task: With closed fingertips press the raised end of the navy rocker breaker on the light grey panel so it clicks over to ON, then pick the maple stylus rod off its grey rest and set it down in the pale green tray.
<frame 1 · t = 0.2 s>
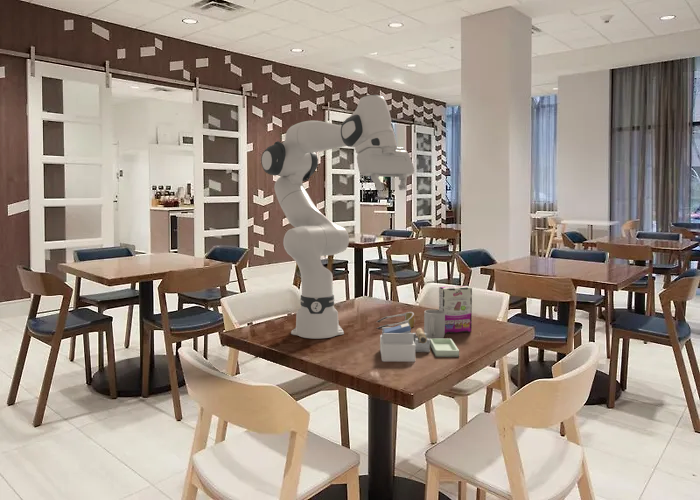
hand: (392, 189, 167), 51 cm above the table, tool tilted 20°, fingers open, 8 cm apart
tray: (443, 350, 181), on the table
rocker: (397, 329, 174), point 8 cm above the table, hinge at 15.0°
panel: (397, 355, 175), on the table
sunglasses: (395, 326, 215), on the table
cup: (433, 338, 197), on the table
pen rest: (421, 348, 183), on the table
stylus: (421, 335, 183), point 4 cm above the table, touching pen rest
candy bar box: (454, 331, 206), on the table
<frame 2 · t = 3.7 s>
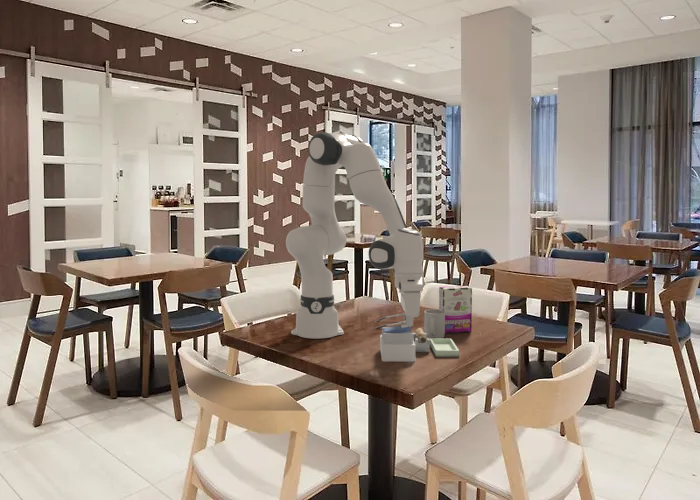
hand: (409, 325, 174), 10 cm above the table, tool pointing down, fingers closed, pressing on rocker
rocker: (397, 329, 174), point 8 cm above the table, hinge at 11.2°, touching gripper
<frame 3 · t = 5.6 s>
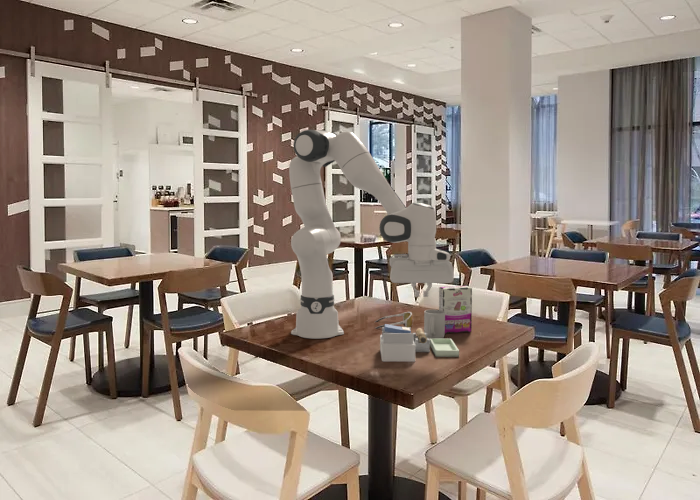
hand: (421, 296, 181), 17 cm above the table, tool pointing down, fingers closed
rocker: (397, 329, 174), point 8 cm above the table, hinge at -10.1°
everything else where it was.
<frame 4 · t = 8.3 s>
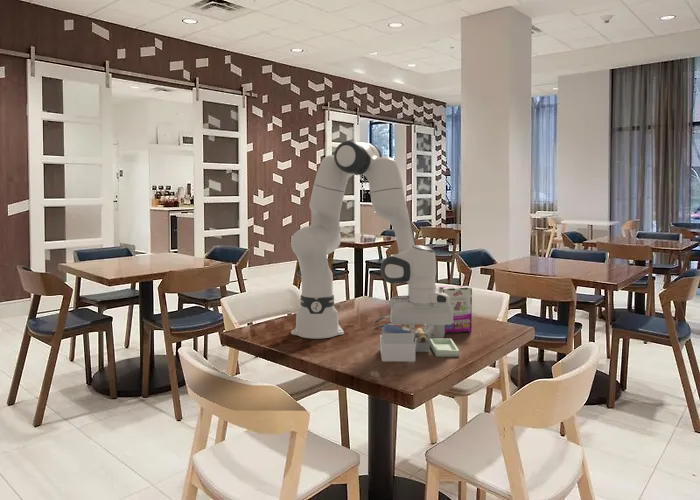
hand: (421, 337, 183), 3 cm above the table, tool pointing down, fingers closed on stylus, 2 cm apart
rocker: (397, 329, 174), point 8 cm above the table, hinge at -11.1°
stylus: (421, 335, 183), point 4 cm above the table, touching gripper, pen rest
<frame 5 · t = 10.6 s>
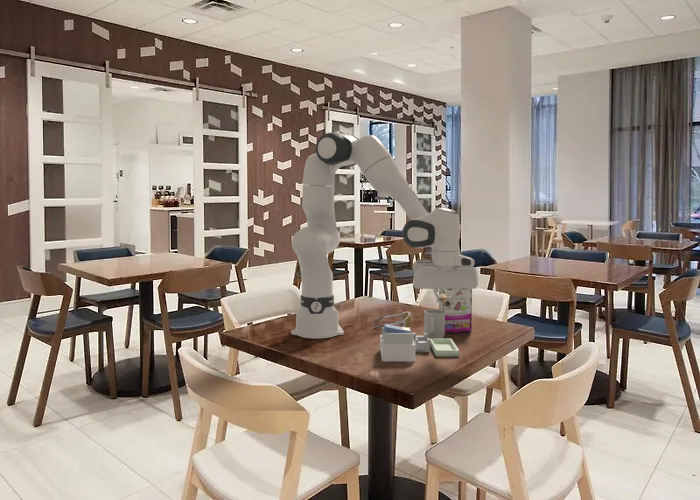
hand: (444, 302, 179), 16 cm above the table, tool pointing down, fingers closed on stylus, 2 cm apart
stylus: (444, 300, 179), point 16 cm above the table, touching gripper
when the fingers open (3 cm above the table, at t = 13.0 s): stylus drops 2 cm, resting on tray.
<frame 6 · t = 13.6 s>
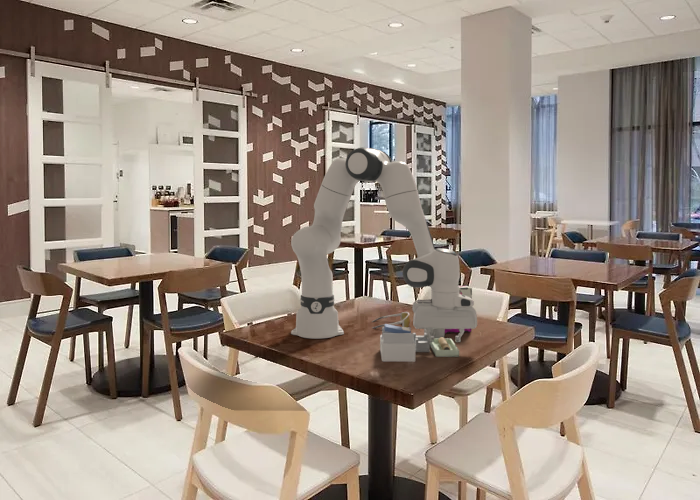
hand: (444, 341, 181), 3 cm above the table, tool pointing down, fingers open, 7 cm apart
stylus: (444, 344, 181), point 2 cm above the table, tilted 8°, touching tray
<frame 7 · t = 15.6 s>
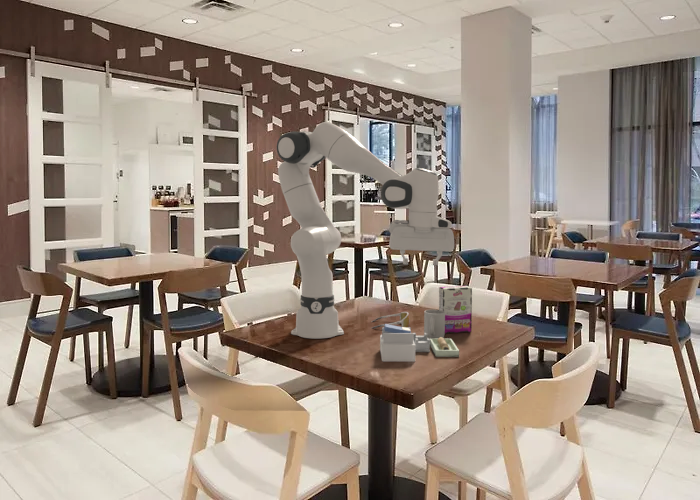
hand: (420, 264, 177), 28 cm above the table, tool pointing down, fingers open, 8 cm apart
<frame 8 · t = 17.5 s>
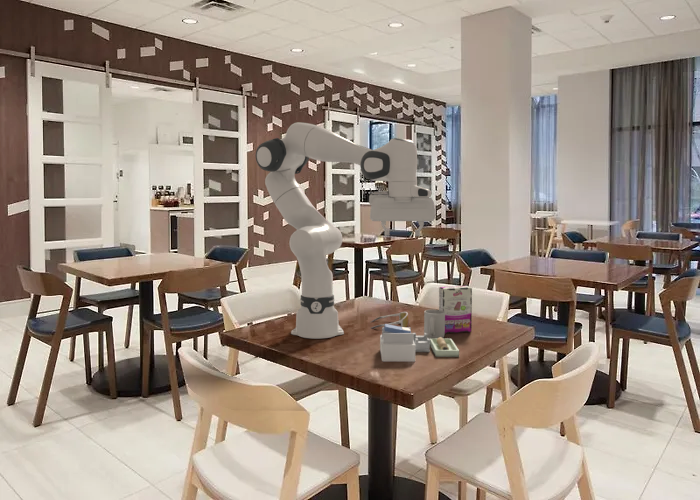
hand: (402, 235, 175), 37 cm above the table, tool pointing down, fingers open, 8 cm apart
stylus: (442, 344, 181), point 2 cm above the table, tilted 17°, touching tray
at the end: rocker at -11° (first picture: +15°); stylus inside the target area on the tray (0.4 cm from its centre), point 1.8 cm above the tray's base; the gripper is holding nothing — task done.
